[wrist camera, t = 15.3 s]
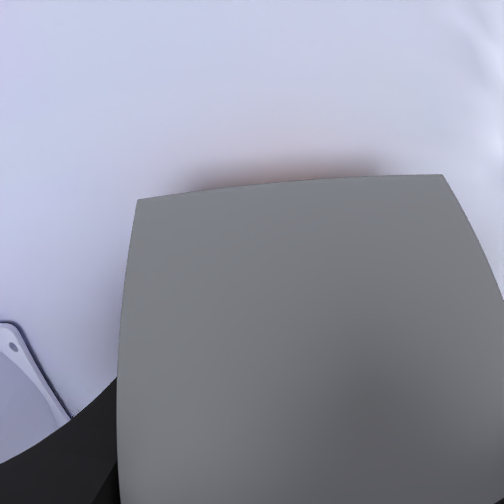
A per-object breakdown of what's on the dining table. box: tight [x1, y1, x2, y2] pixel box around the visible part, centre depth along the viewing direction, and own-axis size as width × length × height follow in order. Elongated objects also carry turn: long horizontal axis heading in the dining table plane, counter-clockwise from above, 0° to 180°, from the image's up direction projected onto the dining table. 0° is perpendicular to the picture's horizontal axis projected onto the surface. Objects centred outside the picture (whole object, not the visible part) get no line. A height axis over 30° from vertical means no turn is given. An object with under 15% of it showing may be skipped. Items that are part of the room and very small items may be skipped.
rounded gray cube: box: [117, 174, 504, 504], centre depth 6 cm, size 6×6×6 cm
